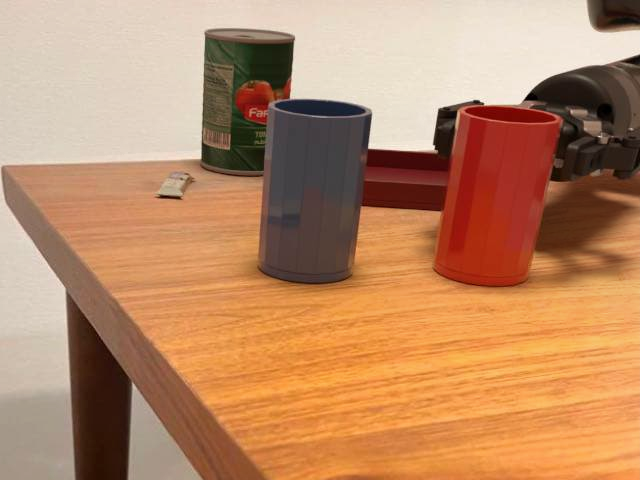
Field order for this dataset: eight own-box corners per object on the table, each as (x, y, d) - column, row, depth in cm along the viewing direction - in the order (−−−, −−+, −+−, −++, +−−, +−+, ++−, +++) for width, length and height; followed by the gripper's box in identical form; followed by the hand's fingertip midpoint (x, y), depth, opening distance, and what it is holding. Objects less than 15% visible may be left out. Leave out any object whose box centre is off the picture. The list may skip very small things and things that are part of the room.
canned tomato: (218, 153, 94) (224, 25, 88) (296, 163, 92) (307, 33, 86) (186, 169, 88) (190, 32, 82) (268, 180, 85) (278, 41, 79)
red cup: (518, 259, 69) (551, 108, 64) (535, 289, 64) (572, 126, 58) (428, 253, 69) (453, 102, 64) (438, 282, 64) (465, 120, 58)
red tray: (494, 179, 90) (498, 156, 89) (518, 215, 79) (524, 190, 78) (335, 169, 91) (337, 146, 89) (338, 203, 80) (340, 178, 79)
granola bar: (181, 191, 78) (146, 185, 79) (180, 206, 79) (145, 200, 79) (205, 171, 84) (172, 166, 84) (204, 185, 84) (171, 180, 85)
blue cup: (351, 256, 68) (369, 102, 62) (354, 286, 62) (374, 120, 57) (260, 250, 68) (270, 96, 63) (255, 279, 63) (266, 113, 57)
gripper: (503, 56, 76) (413, 75, 64) (693, 79, 69) (631, 106, 58) (484, 157, 80) (397, 192, 68) (662, 188, 73) (598, 233, 62)
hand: (504, 152), depth 63 cm, fingers open, 8 cm apart
